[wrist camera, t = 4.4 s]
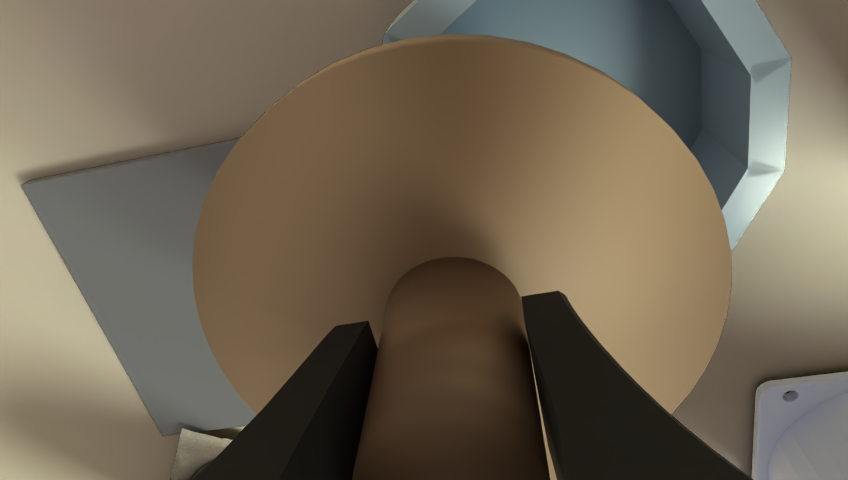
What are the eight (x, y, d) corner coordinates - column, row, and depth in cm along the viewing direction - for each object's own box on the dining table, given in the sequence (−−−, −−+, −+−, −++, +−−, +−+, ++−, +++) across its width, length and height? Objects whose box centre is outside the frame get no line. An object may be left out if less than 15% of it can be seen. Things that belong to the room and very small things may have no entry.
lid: (728, -20, 9) (965, 29, 5) (705, 449, 14) (815, 687, 9) (127, 88, 10) (-104, 202, 6) (289, 482, 15) (219, 704, 11)
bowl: (724, -121, 14) (804, -135, 11) (720, 230, 19) (776, 297, 15) (342, -29, 16) (309, -17, 12) (420, 277, 20) (411, 347, 17)
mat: (355, 115, 17) (352, 118, 17) (431, 395, 22) (431, 403, 22) (28, 180, 19) (20, 185, 19) (166, 428, 24) (162, 436, 24)
